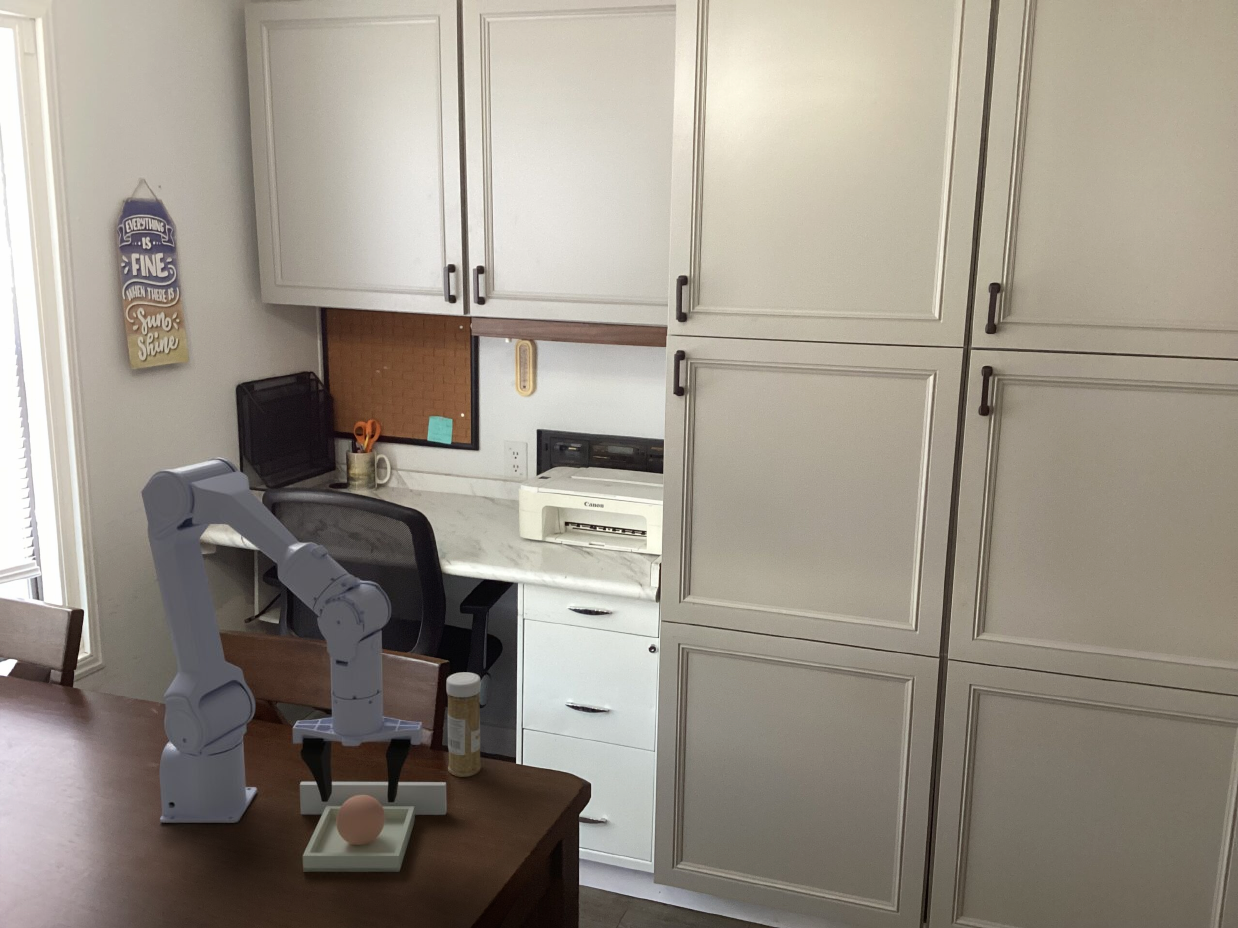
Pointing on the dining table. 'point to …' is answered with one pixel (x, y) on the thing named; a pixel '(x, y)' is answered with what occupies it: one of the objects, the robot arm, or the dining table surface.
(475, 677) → the spice bottle
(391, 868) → the tray
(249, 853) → the dining table surface
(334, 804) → the acrylic wall
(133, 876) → the dining table surface
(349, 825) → the ball
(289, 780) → the dining table surface
